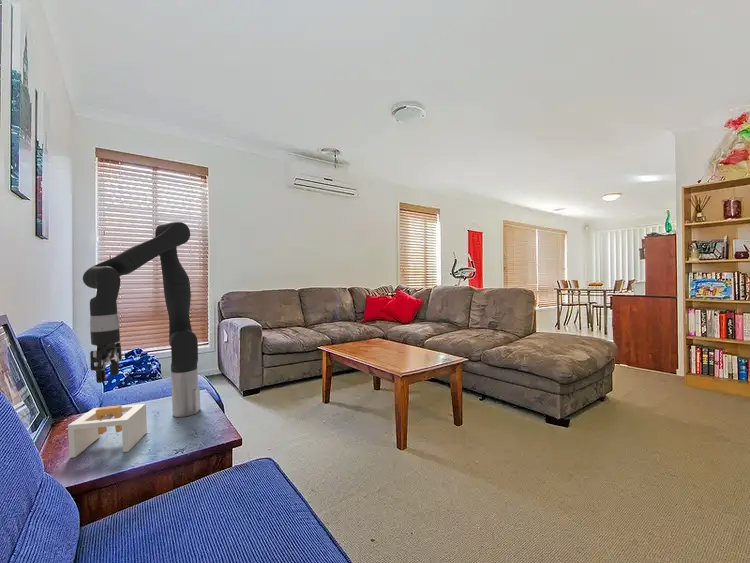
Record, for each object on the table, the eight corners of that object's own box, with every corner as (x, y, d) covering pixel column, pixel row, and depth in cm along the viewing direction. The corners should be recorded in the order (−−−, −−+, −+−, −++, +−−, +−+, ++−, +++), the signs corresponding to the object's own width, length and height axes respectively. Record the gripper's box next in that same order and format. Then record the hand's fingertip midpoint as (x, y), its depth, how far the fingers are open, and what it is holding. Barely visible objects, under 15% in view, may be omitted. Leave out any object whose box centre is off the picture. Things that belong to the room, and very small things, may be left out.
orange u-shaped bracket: (123, 428, 120) (121, 405, 120) (119, 431, 118) (117, 407, 117) (102, 431, 119) (100, 407, 119) (98, 434, 117) (95, 410, 116)
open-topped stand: (147, 431, 127) (145, 403, 127) (128, 451, 113) (126, 419, 113) (95, 437, 124) (93, 408, 123) (69, 457, 110) (67, 425, 110)
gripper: (106, 331, 111) (110, 384, 111) (128, 324, 125) (131, 371, 125) (78, 333, 109) (82, 386, 110) (103, 326, 123) (106, 373, 124)
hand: (108, 378), depth 118 cm, fingers open, 8 cm apart
